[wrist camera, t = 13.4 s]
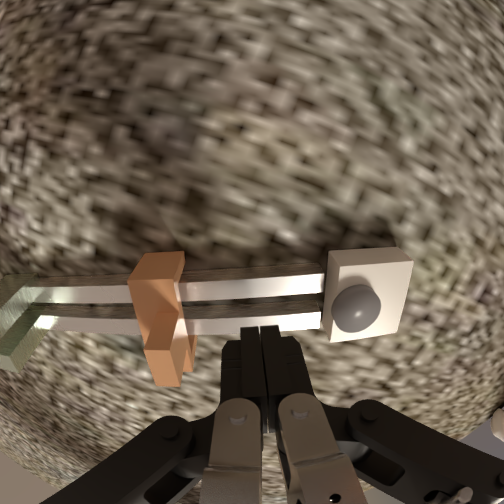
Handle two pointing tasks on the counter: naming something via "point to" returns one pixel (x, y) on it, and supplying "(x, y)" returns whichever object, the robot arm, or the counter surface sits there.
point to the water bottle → (498, 424)
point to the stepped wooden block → (162, 316)
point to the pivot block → (365, 292)
